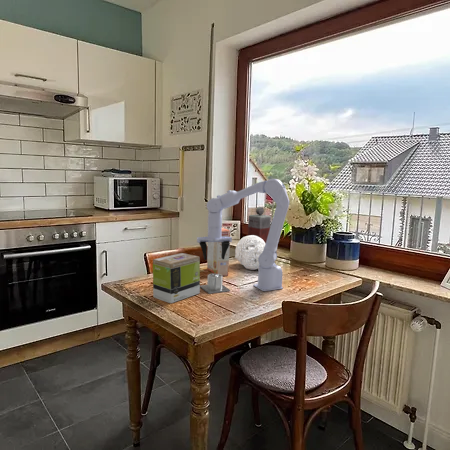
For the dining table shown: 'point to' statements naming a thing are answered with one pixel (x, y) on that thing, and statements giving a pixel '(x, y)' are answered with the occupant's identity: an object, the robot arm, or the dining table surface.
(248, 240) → the cauliflower
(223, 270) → the cracker box
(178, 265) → the tea box
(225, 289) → the duct stub
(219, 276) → the collar
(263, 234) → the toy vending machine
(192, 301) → the dining table surface
